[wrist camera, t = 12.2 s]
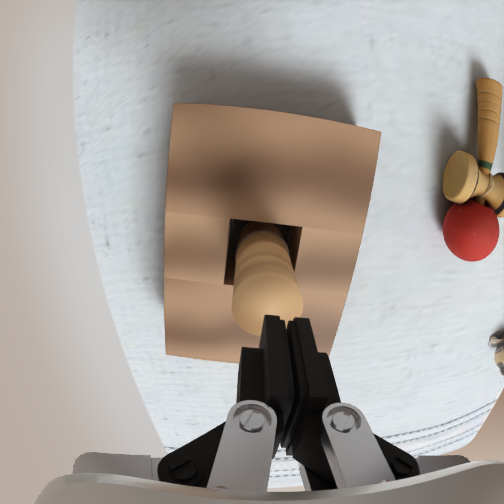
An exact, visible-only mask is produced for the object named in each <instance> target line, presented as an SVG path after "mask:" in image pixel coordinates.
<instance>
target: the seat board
mask: <svg viewBox="0 0 504 504" xmlns="http://www.w3.org/2000/svg"><path fill="white" fill-rule="evenodd" d="M380 138H381V132H380V131H376V130H372V129H367V128H363V127H359V126H355V125H350V124H345V123H341V122H336V121H331V120H326V119H321V118H315V117H309V116H304V115H298V114H291V113H285V112H278V111H270V110H263V109H254V108H245V107H235V106H224V105H211V104H194V103H174V106H173V115H172V124H171V135H170V145H169V157H168V171H167V186H166V205H165V231H164V321H165V347H166V355H173V356H179V357H187V358H194V359H202V360H210V361H219V362H229V363H239V362H240V355H241V348H242V347H250V348H259V343H260V338H261V336H256V335H253V334H250V333H248V332H246V331H245V330H243V329H242V328H241V327H240V326H239V325H238V324H237V322H236V321H235V319H234V317H233V313H232V298H233V288H234V277H235V267H236V261H235V259H228V252H229V242H230V232H231V222H232V219H240V220H249V221H258V222H267V223H275V224H284V225H291V227H290V233H289V239H288V245H287V247H288V250H289V257H290V261H291V264H292V267H293V270H294V273H295V276H296V280H297V283H298V286H299V289H300V293H301V296H302V299H303V312H302V315H301V317H300V318H309V319H310V323H311V327H312V331H313V334H314V338H315V342H316V346H317V350H318V352H326V353H327V354H328V357H329V354H330V351H331V348H332V345H333V342H334V339H335V335H336V332H337V329H338V326H339V322H340V319H341V316H342V312H343V309H344V305H345V302H346V298H347V295H348V291H349V287H350V284H351V280H352V276H353V272H354V268H355V264H356V260H357V256H358V252H359V248H360V244H361V239H362V235H363V230H364V226H365V221H366V217H367V212H368V207H369V202H370V197H371V192H372V186H373V181H374V175H375V169H376V164H377V157H378V151H379V144H380Z"/></svg>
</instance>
